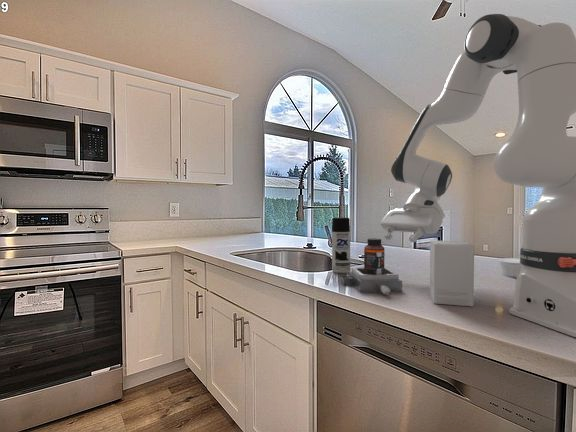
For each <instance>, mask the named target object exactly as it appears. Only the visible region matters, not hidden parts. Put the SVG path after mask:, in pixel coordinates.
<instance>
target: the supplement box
mask: <svg viewBox="0 0 576 432" xmlns="http://www.w3.org/2000/svg"><path fill="white" fill-rule="evenodd" d="M474 278H475V245H474V244H472V243H470V242H468V241H465V240H436V239H434V240H430V241H429V296H430V298H431V300H432V302H433V304H436V305H437V304H439V305H446V306H447V305H451V306H461V307H462V306H463V307H471V308H472V307H474V303H475V301H474V293H475V292H474V291H475V287H474V286H475V285H474V284H475V283H474V282H475V281H474V280H475V279H474Z"/></svg>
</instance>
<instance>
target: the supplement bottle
mask: <svg viewBox="0 0 576 432" xmlns="http://www.w3.org/2000/svg"><path fill="white" fill-rule="evenodd" d="M385 255H386V253H385V247H384V246H383V244H382V239H381V238H377V237H376V238H375V237H374V238H373V237H372V238H371V237H369V238H367V245H365V246H364V249H363V260H364V261H363V263H364V264H363V268H364V274H384V267H385Z"/></svg>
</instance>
